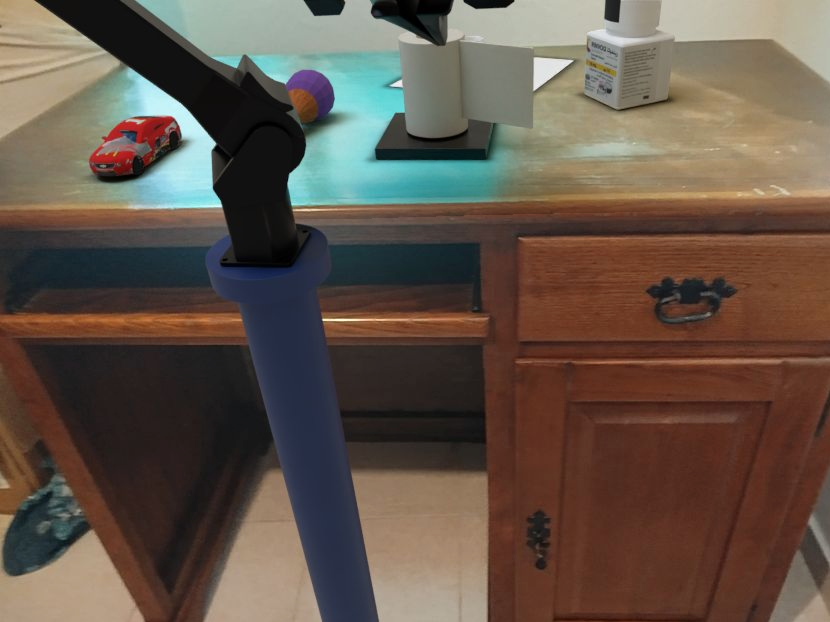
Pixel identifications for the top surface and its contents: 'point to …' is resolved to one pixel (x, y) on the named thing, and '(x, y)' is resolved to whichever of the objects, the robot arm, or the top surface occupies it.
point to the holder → (434, 142)
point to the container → (629, 55)
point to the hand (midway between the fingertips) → (442, 41)
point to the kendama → (310, 95)
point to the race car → (135, 145)
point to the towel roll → (464, 84)
